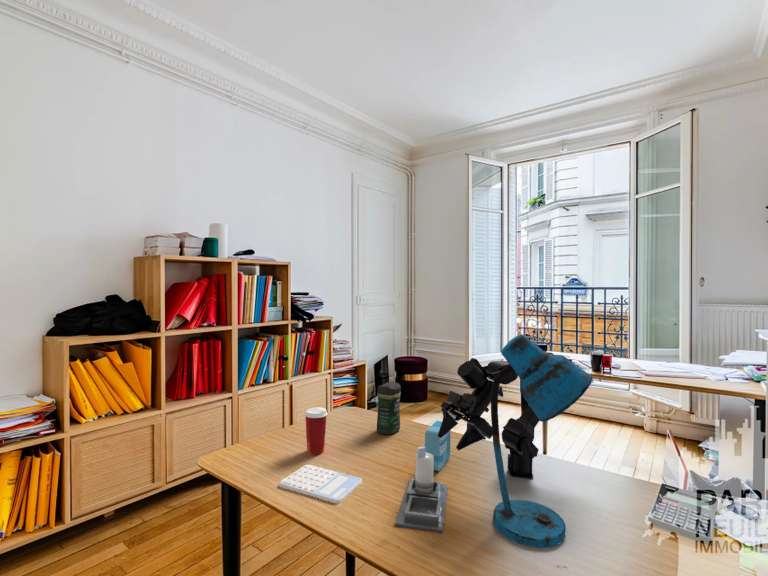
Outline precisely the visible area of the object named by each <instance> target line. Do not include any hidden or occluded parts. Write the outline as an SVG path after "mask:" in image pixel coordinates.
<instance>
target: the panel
mask: <svg viewBox="0 0 768 576" xmlns="http://www.w3.org/2000/svg"><path fill="white" fill-rule="evenodd" d="M448 488H449V485H448V484H443V483H441V481H437V480H434V486H433V495H432V494H424V493H416V492H415V478H413V477H411V479H409V480H408V483H407V485H406V489H405V492H404V495H403V498H402V501H401V504H400V506H399V509H398V513H397V517H396V519H395V522H394V526H395V527H403V528H409V529H416V530H423V531H428V532H429V531H430V532H436V533H443V529H444V521H445V514H446V506H447V499H448V498H447V496H448Z"/></svg>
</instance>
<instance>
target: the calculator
mask: <svg viewBox="0 0 768 576" xmlns="http://www.w3.org/2000/svg"><path fill="white" fill-rule="evenodd" d="M362 483H363V479H362V478H361V477H359V476H356V475H355V476H354V475H351V474H348V473H343V472H339V471H336V470H332V469H329V468H328V469H327V468H324V467H320V466H316V465H311V464H305V465H303V466H302V467H300V468H299V469H297V470H296V471H294V472H292V473H290V474H289V475H288V476H287V477H285V478H283V479H282V480H281V481H279V484H278V485H279V486H278V487H280V488H281V487H282V488H281V489H284V488H285V489H284V490H287V489H289V490H288V491H291V490H292V491H291V492H294V491H296V492H295V493H297V492H299V493H298V494H301V493H303V494H302V495H304V494H306V495H305V496H307V495H311V496H313V497H312V498H314V497H316V498H315V499H317V498H319V499H318V500H321V499H322V500H321V501H324V500H325V501H324V502H328V501H329V502H328V503H331V502H332V503H331V504H335V503H336V505H338V504H340V503H342V502H343V501H344V500H346V498H348V497H349V495H352V493H353V492H355V490H356V489H357V488H358V487H360V486H361V484H362ZM311 496H310V497H311Z"/></svg>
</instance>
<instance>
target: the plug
mask: <svg viewBox="0 0 768 576" xmlns="http://www.w3.org/2000/svg"><path fill="white" fill-rule="evenodd" d="M416 450H417V451H416V452H417V453H416V454H415V474H414V475H415V478H414V479H415V492H416V493H424V494H432V495H433V486H434V481H435V480H434V470H433V468H434V456H433V455H432V454H431V453H427V452H426V448H425V445H423V446H418V447H417V448H416Z"/></svg>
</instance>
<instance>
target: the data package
mask: <svg viewBox="0 0 768 576" xmlns="http://www.w3.org/2000/svg"><path fill="white" fill-rule="evenodd" d="M441 424H442V421H440V420H436V421H434V423H432V424H431V425H430V426H429V427H428V428H427V429H426V430H425V433H424V447H425V448H426V452H427V453H431V454H432V455H433V456H434V468H433V471H435V472H440V471H441V470H442V469H443V468H444V466H445V465H446V464H447V462H448V461H450V458H451V430H450V431H449V432H448V433H446V434H445V435H444V436H443V437H441V438H439V437H438V433H439V430H440V427H441Z"/></svg>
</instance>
